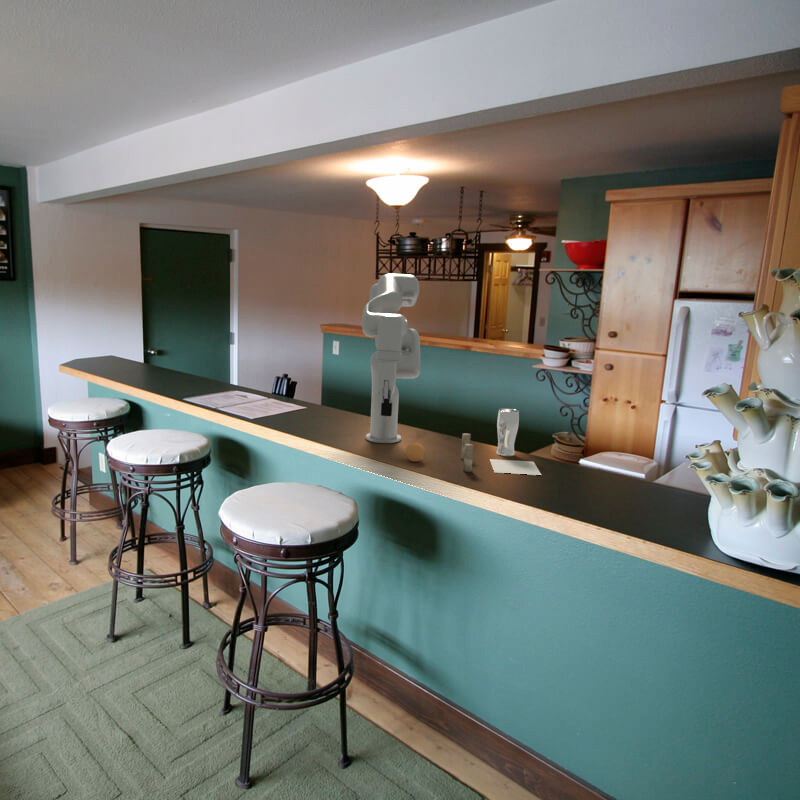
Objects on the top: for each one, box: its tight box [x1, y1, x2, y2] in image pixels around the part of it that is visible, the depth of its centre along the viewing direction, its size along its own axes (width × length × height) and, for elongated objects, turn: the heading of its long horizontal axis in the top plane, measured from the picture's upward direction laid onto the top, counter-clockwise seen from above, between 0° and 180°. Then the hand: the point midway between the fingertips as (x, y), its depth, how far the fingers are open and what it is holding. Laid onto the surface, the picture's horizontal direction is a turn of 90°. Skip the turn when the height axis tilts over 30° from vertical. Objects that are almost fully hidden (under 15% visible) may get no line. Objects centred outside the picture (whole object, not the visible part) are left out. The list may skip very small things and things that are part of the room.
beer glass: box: [495, 407, 520, 457], centre depth 189 cm, size 7×7×15 cm
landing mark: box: [489, 458, 542, 477], centre depth 176 cm, size 14×14×1 cm
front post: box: [462, 443, 474, 473], centre depth 169 cm, size 3×3×8 cm
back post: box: [460, 433, 472, 460], centre depth 182 cm, size 3×3×8 cm
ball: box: [405, 441, 426, 463], centre depth 177 cm, size 6×6×6 cm
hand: (386, 415), depth 175 cm, fingers closed
